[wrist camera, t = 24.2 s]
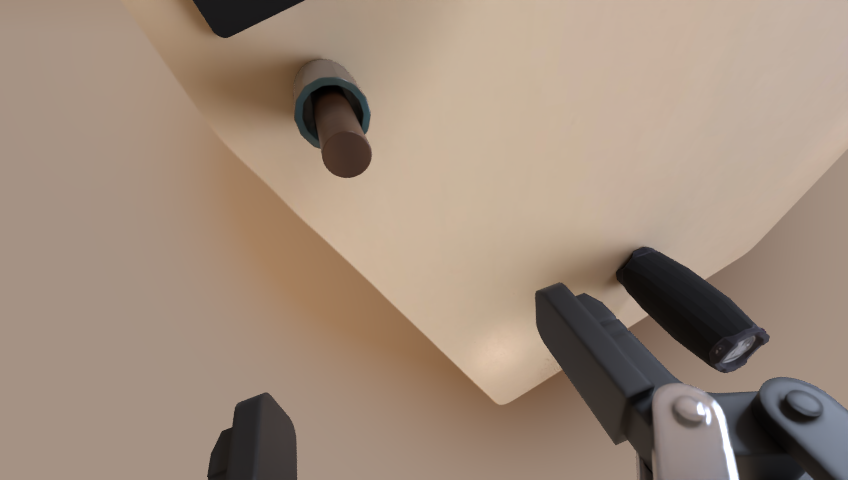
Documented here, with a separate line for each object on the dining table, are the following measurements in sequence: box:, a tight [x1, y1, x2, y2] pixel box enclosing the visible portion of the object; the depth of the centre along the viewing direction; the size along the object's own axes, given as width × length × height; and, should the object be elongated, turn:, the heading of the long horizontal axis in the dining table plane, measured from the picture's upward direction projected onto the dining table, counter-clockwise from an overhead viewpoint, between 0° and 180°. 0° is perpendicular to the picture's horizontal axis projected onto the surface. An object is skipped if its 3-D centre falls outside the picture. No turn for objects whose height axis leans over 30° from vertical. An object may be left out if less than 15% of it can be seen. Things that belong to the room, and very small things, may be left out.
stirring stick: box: [310, 85, 372, 178], centre depth 30 cm, size 3×3×16 cm
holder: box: [293, 59, 371, 149], centre depth 33 cm, size 6×6×8 cm
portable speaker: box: [616, 247, 769, 373], centre depth 58 cm, size 9×9×20 cm
